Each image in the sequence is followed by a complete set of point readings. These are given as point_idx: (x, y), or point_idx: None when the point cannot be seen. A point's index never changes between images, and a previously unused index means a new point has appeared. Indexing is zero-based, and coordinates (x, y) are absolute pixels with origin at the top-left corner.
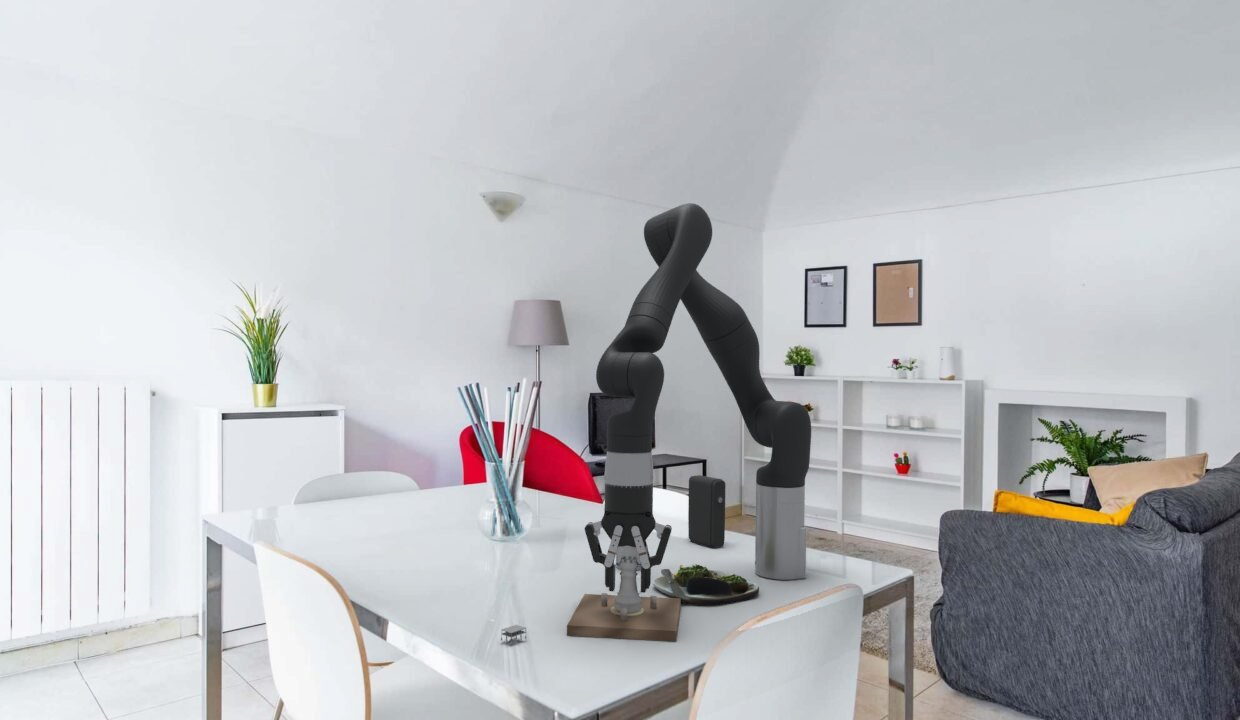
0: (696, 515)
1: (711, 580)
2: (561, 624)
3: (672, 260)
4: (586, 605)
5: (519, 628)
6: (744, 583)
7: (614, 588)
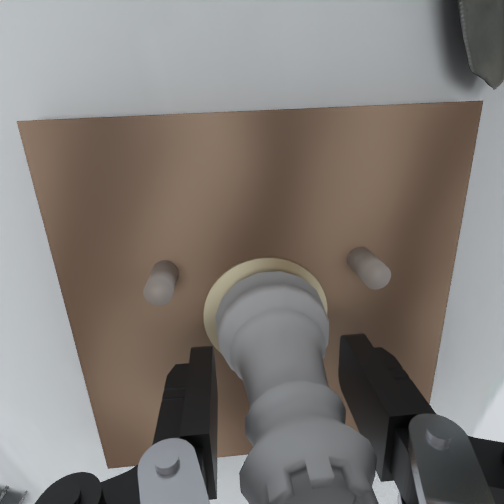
0: None
1: None
2: (61, 370)
3: None
4: (95, 288)
5: None
6: None
7: (214, 361)
